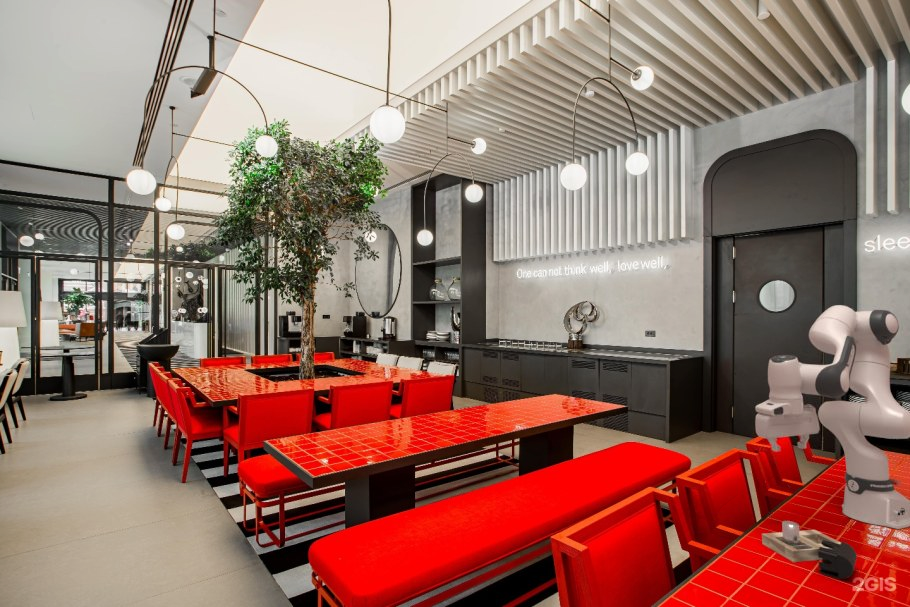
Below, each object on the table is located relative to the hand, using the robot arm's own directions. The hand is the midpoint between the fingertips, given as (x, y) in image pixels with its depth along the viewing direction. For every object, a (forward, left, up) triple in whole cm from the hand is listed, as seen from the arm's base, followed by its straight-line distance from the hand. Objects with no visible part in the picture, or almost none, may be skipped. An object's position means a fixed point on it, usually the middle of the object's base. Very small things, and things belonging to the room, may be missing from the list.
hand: (789, 449), depth 148 cm
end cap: (+7, +21, -27) cm, 35 cm away
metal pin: (+10, +10, -27) cm, 30 cm away
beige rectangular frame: (+5, +10, -27) cm, 29 cm away
